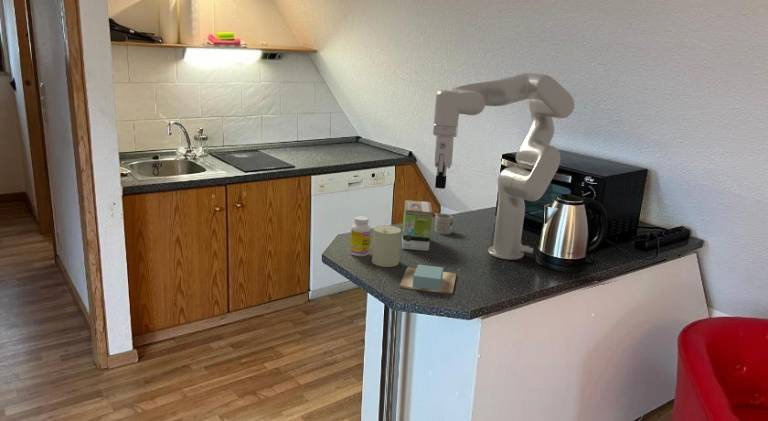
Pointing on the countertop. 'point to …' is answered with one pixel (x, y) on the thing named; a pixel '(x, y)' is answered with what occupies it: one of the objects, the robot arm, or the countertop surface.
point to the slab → (428, 277)
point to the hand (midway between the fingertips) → (440, 187)
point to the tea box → (416, 225)
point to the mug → (443, 224)
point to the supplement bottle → (360, 237)
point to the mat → (445, 287)
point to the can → (386, 246)
